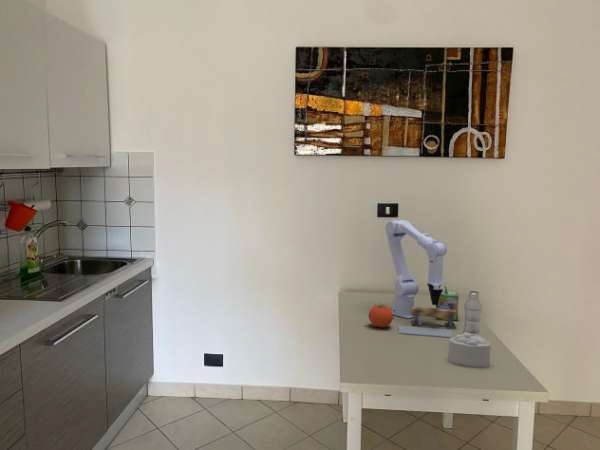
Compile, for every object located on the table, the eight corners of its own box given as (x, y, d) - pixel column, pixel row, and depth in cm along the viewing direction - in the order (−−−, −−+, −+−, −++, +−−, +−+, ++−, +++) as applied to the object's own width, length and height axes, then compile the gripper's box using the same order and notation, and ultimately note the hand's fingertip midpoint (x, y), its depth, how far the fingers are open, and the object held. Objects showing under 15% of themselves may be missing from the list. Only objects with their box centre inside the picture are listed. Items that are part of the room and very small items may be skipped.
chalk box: (457, 321, 211) (459, 288, 210) (436, 319, 213) (437, 287, 211) (455, 315, 220) (457, 284, 219) (434, 314, 222) (436, 282, 220)
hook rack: (411, 325, 203) (412, 312, 203) (411, 321, 210) (411, 308, 209) (455, 329, 200) (456, 315, 199) (454, 324, 206) (454, 311, 205)
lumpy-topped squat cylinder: (491, 367, 160) (493, 342, 159) (452, 365, 160) (453, 340, 160) (481, 355, 170) (483, 332, 169) (444, 354, 171) (445, 330, 170)
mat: (398, 333, 192) (398, 332, 192) (398, 327, 201) (398, 325, 201) (452, 338, 188) (452, 336, 188) (450, 331, 197) (450, 329, 197)
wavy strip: (411, 315, 205) (412, 308, 204) (411, 313, 207) (412, 306, 207) (455, 318, 201) (456, 311, 201) (455, 316, 204) (455, 309, 204)
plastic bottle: (479, 341, 185) (482, 291, 183) (480, 347, 178) (483, 295, 176) (462, 339, 187) (464, 289, 185) (462, 345, 180) (464, 293, 178)
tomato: (397, 327, 201) (398, 303, 200) (383, 332, 194) (384, 308, 193) (377, 321, 208) (377, 299, 207) (363, 326, 201) (364, 303, 200)
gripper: (447, 275, 194) (445, 307, 196) (443, 268, 209) (442, 299, 210) (429, 274, 196) (427, 306, 197) (427, 267, 210) (425, 298, 211)
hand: (434, 302), depth 204 cm, fingers open, 7 cm apart
